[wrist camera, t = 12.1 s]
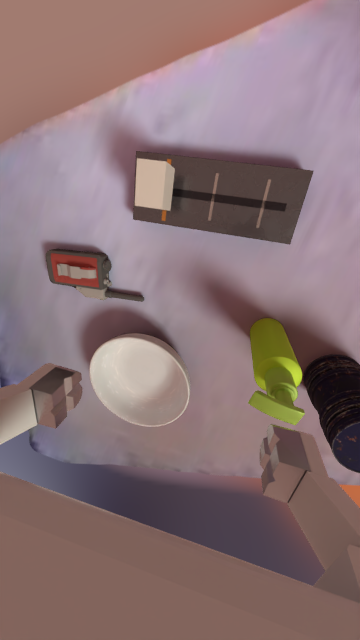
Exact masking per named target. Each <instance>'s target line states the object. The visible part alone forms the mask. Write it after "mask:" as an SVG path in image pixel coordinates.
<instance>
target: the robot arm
mask: <svg viewBox="0 0 360 640" xmlns="http://www.w3.org/2000/svg"><path fill="white" fill-rule="evenodd" d="M81 380H82V377H81V373H80V372H78V371H75V370H72V369H68V368H65V367H62V366H57V365H54V364H51V363H48V364H45V365H44V366H42V367H41V368H39V369H38V370H37V371H35V372H34V373H33V374H31V375H30V376H29V377H27V378H26V379H24V380H23V381H22V382H20V383H19V384H18V385H15V384H13V385H9V386H6V387H3V388H0V444H2V443H4V442H6V441H8V440H9V439H11V438H13V437H15V436H17V435H19V434H21V433H23V432H24V431H26V430H28V429H30V428H32V427H34V426H36V425H37V423H38V424H41V425H45V426H48V427H52V428H55V429H56V428H57V427H58V426H59V425H60V424H61V423H62V421H63V420H64V419H65V418H66V417H67V411H69V410H71V409H74V408H75V407H76V405H77V404H78V403H79V401H80V399H81V396H82V386H81V385H80V383H79V382H80V381H81ZM260 465H261V466H262V468H263V469H264V471H263V473H262V476H261V478H262V488H263V495H265V496H268V497H271V498H274V499H276V500H279V501H282V502H285V503H288V507H289V508H290V510H291V511H292V513H293V515H294V517H295V519H296V520H297V522H298V524H299V526H300V528H301V529H302V531H303V533H304V535H305V536H306V538H307V540H308V542H309V543H310V545H311V547H312V548H313V550H314V552H315V554H316V555H317V557H318V559H319V561H320V562H321V564H322V566H323V568H324V570H325V571H326V572H325V573H324V574H323V575H322V576H321V578H320V579H319V580H318V581H317V582H316V584H314V586H311V585H308V584H306V583H303V582H300V581H297V580H294V579H292V578H289V577H286V576H284V575H281V574H278V573H276V572H273V571H270V570H267V569H265V568H262V567H259V566H256V565H254V564H251V563H248V562H245V561H243V560H240V559H237V558H235V557H232V556H229V555H226V554H224V553H221V552H218V551H215V550H213V549H210V548H207V547H204V546H202V545H199V544H196V543H194V542H191V541H188V540H185V539H183V538H180V537H177V536H175V535H172V534H169V533H166V532H164V531H161V530H158V529H156V528H153V527H150V526H147V525H145V524H142V523H139V522H136V521H134V520H131V519H128V518H126V517H123V516H120V515H117V514H115V513H112V512H109V511H106V510H104V509H101V508H98V507H95V506H92V505H90V504H87V503H84V502H82V501H79V500H76V499H74V498H71V497H68V496H65V495H63V494H60V493H57V492H54V491H51V490H49V489H46V488H43V487H40V486H38V485H35V484H32V483H30V482H27V481H24V480H21V479H19V478H16V477H13V476H11V475H7V474H5V473H2V472H0V640H360V508H359V507H358V506H357V505H356V504H355V502H354V501H353V500H352V499H351V498H350V497H349V496H348V495H347V494H346V492H345V491H344V490H343V489H342V488H341V487H340V486H339V485H338V484H337V482H336V481H335V480H334V479H332V478H329V477H328V474H327V471H326V469H325V466H324V463H323V460H322V458H321V455H320V452H319V449H318V447H317V444H316V441H315V439H314V437H313V436H312V435H311V434H307V433H303V432H299V431H295V430H291V429H288V428H284V427H280V426H276V425H273V424H270V425H269V426H268V429H267V437H266V438H264V439H263V441H262V444H261V448H260Z"/></svg>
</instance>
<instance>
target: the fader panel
mask: <svg viewBox="0 0 360 640" xmlns="http://www.w3.org/2000/svg"><path fill="white" fill-rule="evenodd" d="M137 158H140V159H148V160H157V161H166V162H167V163H169V164H170V165H171V166H172V167H173V168H175V173H174V182H173V192H172V201H171V210H170V211H168V210H161V209H155V208H148V207H141V206H135V190H134V212H133V219H134V220H140V221H147V222H153V223H159V224H165V225H172V226H178V227H184V228H191V229H197V230H203V231H209V232H216V233H222V234H228V235H235V236H241V237H247V238H253V239H260V240H266V241H272V242H279V243H285V244H290V243H291V239H292V236H293V233H294V230H295V227H296V224H297V221H298V218H299V215H300V211H301V208H302V205H303V202H304V199H305V196H306V193H307V190H308V186H309V183H310V180H311V177H312V174H313V171H311V170H302V169H293V168H284V167H275V166H266V165H257V164H248V163H239V162H230V161H221V160H212V159H203V158H194V157H185V156H176V155H167V154H158V153H149V152H140V151H136V168H137ZM135 189H136V169H135Z"/></svg>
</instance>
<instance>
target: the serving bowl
mask: <svg viewBox="0 0 360 640" xmlns="http://www.w3.org/2000/svg"><path fill="white" fill-rule="evenodd" d="M90 380H91V383H92V386H93V389H94V391H95V393H96V394H97V396H98V398H99V399H100V400H101V402H102V403H103V404H104V405H105V406H106V407H107V408H108V409H109V410H110V411H111V412H113V413H114V414H115V415H117V416H118V417H120V418H122V419H124V420H126V421H128V422H131V423H133V424H137V425H141V426H152V427H153V426H161V425H165V424H168V423H171V422H173V421H174V420H176V419H177V418H178V417H179V416H181V414H182V413H183V412H184V411H185V409H186V407H187V405H188V401H189V397H190V379H189V374H188V371H187V368H186V366H185V364H184V362H183V360H182V359H181V357H180V356H179V355H178V353H177V352H176V351H175V350H174V349H173V348H172V347H171V346H169V345H168V344H167V343H165V342H164V341H162V340H160V339H158V338H156V337H153V336H150V335H146V334H139V333H130V334H124V335H120V336H117V337H114V338H112V339H110V340H108V341H107V342H105V343H103V344H102V345H101V346H100V347H99V348H98V349H97V350H96V351H95V353H94V355H93V356H92V359H91V362H90Z"/></svg>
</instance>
